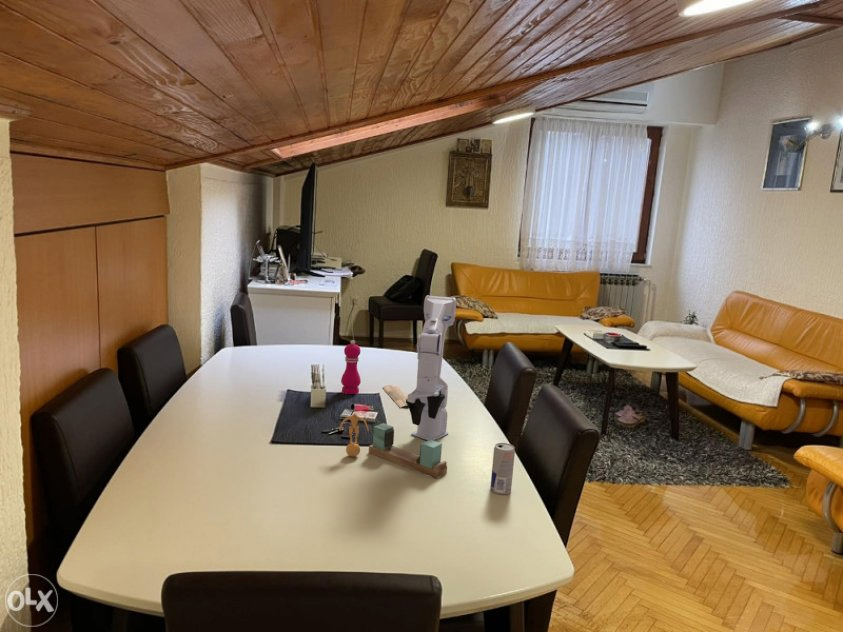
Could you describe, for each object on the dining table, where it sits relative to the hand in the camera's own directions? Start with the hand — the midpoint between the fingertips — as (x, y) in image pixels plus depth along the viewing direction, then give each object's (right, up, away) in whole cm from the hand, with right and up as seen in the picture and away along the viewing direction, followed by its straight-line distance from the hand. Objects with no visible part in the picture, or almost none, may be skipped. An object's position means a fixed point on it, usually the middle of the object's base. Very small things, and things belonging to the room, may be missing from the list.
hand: (424, 421), depth 180 cm
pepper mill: (-27, +1, +55) cm, 61 cm away
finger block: (+2, -10, -9) cm, 14 cm away
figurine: (-20, -10, -1) cm, 22 cm away
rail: (-5, -11, -4) cm, 13 cm away
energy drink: (+20, -15, -17) cm, 30 cm away
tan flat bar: (-10, -1, +53) cm, 54 cm away
